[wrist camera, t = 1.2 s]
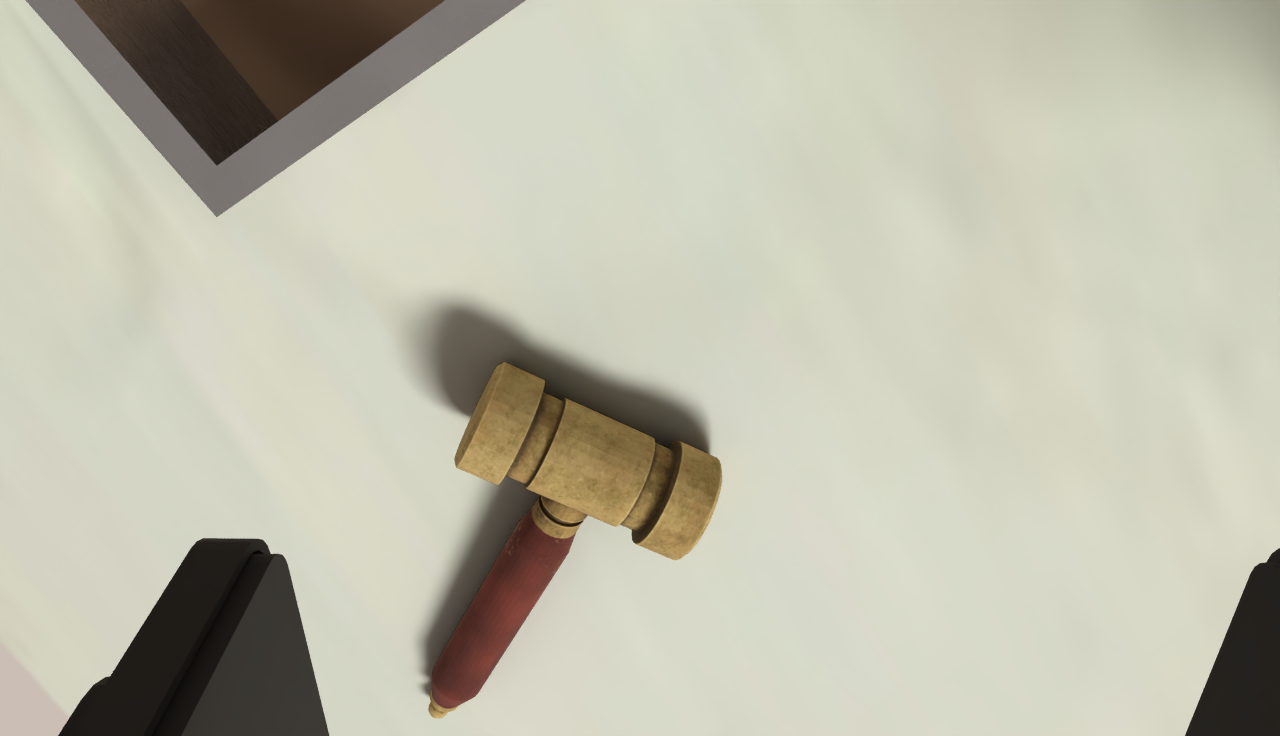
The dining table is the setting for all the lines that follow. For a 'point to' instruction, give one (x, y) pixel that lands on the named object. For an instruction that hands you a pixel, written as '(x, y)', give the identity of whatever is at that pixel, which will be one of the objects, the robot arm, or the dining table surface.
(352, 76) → the metal walls
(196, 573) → the robot arm
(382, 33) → the walnut board
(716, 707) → the dining table surface
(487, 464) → the gavel
